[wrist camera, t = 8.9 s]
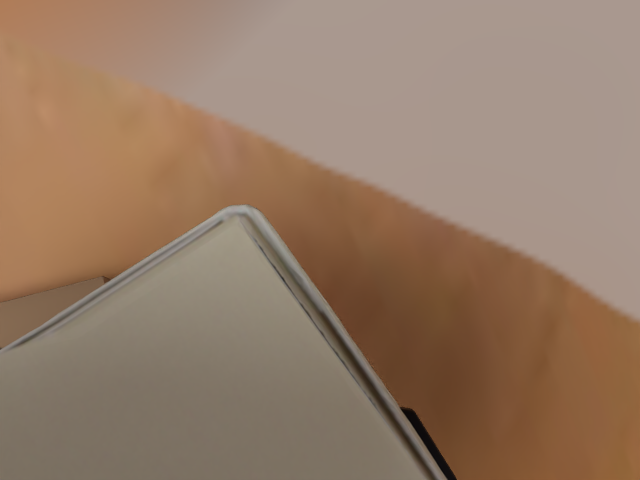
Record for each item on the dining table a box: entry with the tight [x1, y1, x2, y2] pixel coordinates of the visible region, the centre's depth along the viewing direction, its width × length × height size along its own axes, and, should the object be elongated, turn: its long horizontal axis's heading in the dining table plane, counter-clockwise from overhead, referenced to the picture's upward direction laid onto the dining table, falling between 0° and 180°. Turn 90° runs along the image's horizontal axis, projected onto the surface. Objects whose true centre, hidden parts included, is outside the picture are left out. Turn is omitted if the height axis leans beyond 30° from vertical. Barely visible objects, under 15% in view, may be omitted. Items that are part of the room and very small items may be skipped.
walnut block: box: [0, 276, 111, 348], centre depth 20 cm, size 9×9×3 cm
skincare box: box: [0, 205, 447, 480], centre depth 9 cm, size 6×4×12 cm
